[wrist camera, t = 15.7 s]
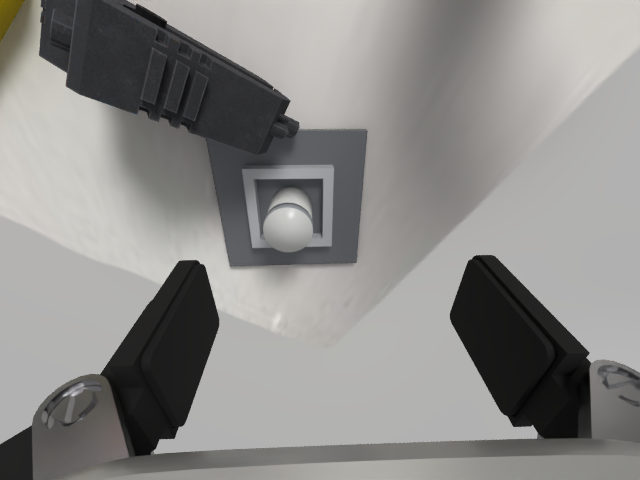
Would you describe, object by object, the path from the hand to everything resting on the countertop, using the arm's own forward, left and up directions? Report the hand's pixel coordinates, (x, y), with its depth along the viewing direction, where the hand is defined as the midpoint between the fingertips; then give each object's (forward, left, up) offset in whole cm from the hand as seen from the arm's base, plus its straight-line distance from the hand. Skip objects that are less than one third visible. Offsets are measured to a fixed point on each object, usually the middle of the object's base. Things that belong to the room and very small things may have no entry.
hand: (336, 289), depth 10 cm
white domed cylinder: (+3, +7, -25) cm, 26 cm away
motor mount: (+3, +7, -26) cm, 27 cm away
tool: (+11, -7, -27) cm, 30 cm away
